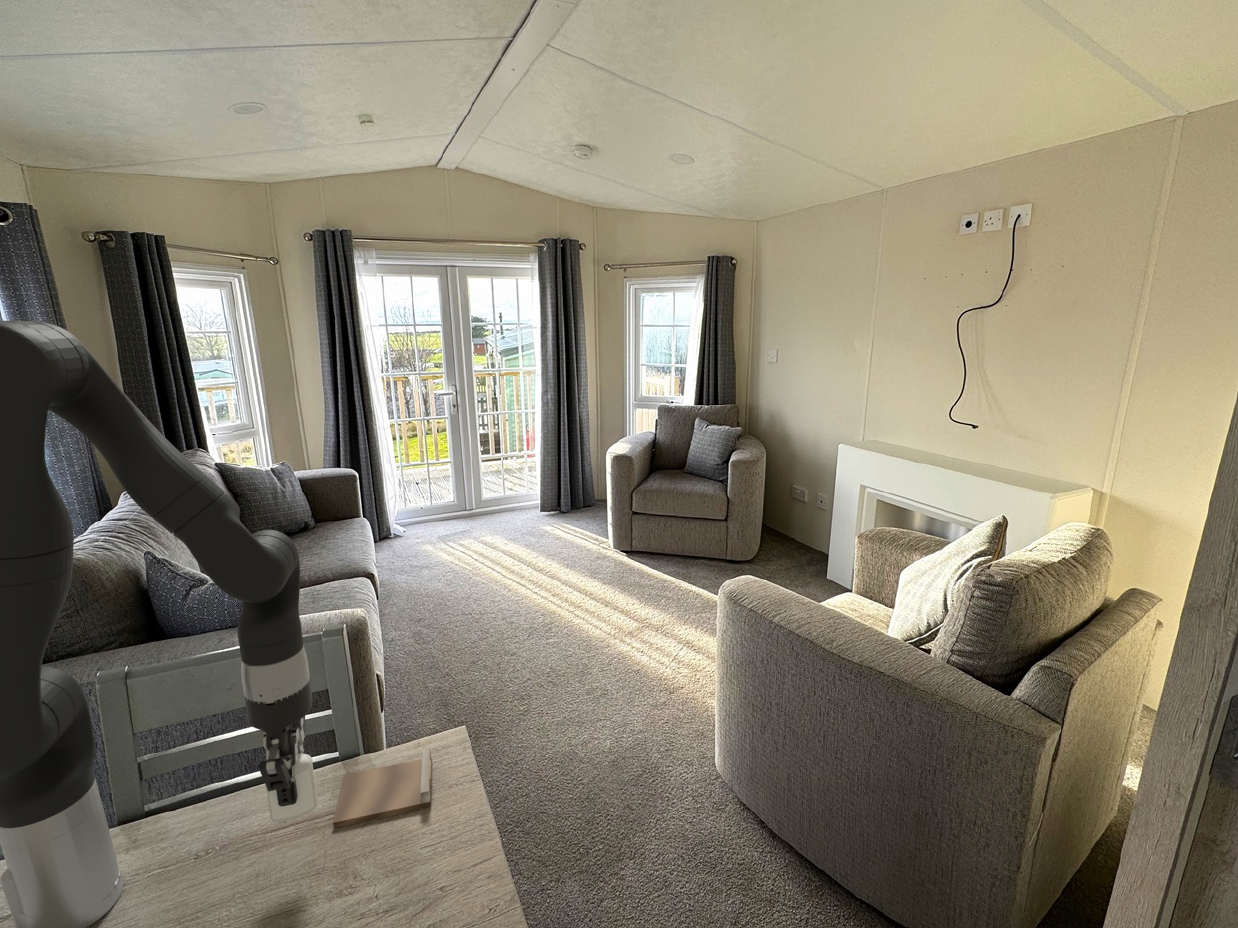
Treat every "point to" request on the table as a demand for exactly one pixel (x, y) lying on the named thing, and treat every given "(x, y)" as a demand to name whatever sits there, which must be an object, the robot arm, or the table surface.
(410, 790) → the walnut shelf board
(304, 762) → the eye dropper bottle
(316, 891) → the table surface
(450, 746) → the table surface
